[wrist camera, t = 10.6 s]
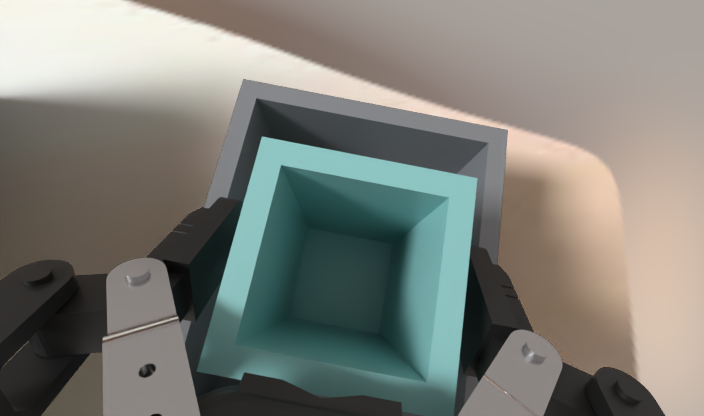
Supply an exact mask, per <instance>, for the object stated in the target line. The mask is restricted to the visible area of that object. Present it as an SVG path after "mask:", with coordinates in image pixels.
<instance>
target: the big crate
mask: <svg viewBox="0 0 704 416" xmlns="http://www.w3.org/2000/svg"><path fill="white" fill-rule="evenodd" d="M507 134H508V130H505V129H500V128H495V127H489V126H484V125H479V124H474V123H469V122H464V121H458V120H453V119H448V118H443V117H438V116H432V115H427V114H422V113H417V112H412V111H406V110H401V109H396V108H391V107H386V106H381V105H375V104H370V103H365V102H360V101H355V100H349V99H344V98H339V97H334V96H329V95H323V94H318V93H313V92H308V91H303V90H298V89H292V88H287V87H282V86H277V85H272V84H266V83H261V82H256V81H251V80H246V79H243V82H242V85H241V88H240V91H239V95H238V98H237V101H236V105H235V108H234V111H233V114H232V118H231V121H230V124H229V127H228V131H227V134H226V137H225V140H224V144H223V147H222V150H221V153H220V157H219V160H218V163H217V166H216V170H215V173H214V176H213V179H212V183H211V186H210V189H209V192H208V196H207V199H206V202H205V205H204V208H208V209H209V208H210V207H211V206H212V205H213V204H214V202H215V201H216V200H217V199H218V198H219V197H225V198H230V199H235V200H240V201H242V202H243V203H244V199H245V196H246V192H247V189H248V185H249V181H250V178H251V174H252V171H253V167H254V163H255V160H256V156H257V153H258V149H259V145H260V142H261V138H262V137H267V138H272V139H277V140H283V141H288V142H293V143H298V144H303V145H308V146H314V147H319V148H324V149H329V150H334V151H340V152H345V153H350V154H355V155H360V156H365V157H371V158H376V159H381V160H386V161H391V162H396V163H402V164H407V165H412V166H417V167H422V168H427V169H433V170H438V171H443V172H448V173H453V174H458V175H464V176H469V177H474V178H477V188H476V198H475V208H474V218H473V228H472V238H471V246H476V247H481V248H485V249H486V250H487V251H488V254H489V256H490V259H491V261H492V264H496V265H497V261H498V248H499V236H500V223H501V210H502V198H503V185H504V172H505V160H506V147H507ZM221 282H222V280H221ZM221 282H220V284H219V285H218V287H217V288H216V290H215V292H214V293H213V295H212V296H211V298H210V300H209V301H208V303H207V304H206V306H205V308H204V309H203V311H202V312H201V314H200V316H199V317H198V319H197V320H196V322H192V321H187V320H182V321H181V323H180V326H181V331H182V335H183V340H184V344H185V349H186V353H187V358H188V362H189V367H190V371H191V376H192V380H193V385H194V389H195V394H196V398H198V397H200V396H201V395H204V394H206V393H208V392H211V391H213V390H216V389H219V388H223V387H228V386H233V385H239V384H240V382H241V380H238V379H233V378H228V377H223V376H218V375H212V374H207V373H202V372H197V368H198V365H199V361H200V357H201V354H202V350H203V347H204V343H205V339H206V336H207V332H208V329H209V325H210V321H211V318H212V314H213V311H214V307H215V304H216V300H217V296H218V293H219V289H220V286H221ZM477 385H478V379H477V377H472V376H467V375H464V374H463V369H462V364H461V359H460V358H459V368H458V378H457V388H456V398H455V408H454V416H458V414H459V413H460V411H461V410H462V408H463V406H464V405H465V403H466V402H467V400H468V399H469V397H470V396H471V394H472V392H473V391H474V389H475V388H476V386H477ZM313 395H315V394H313ZM315 396H318V397H321V398H331V397H326V396H320V395H315ZM402 416H423V415H418V414H413V413H408V412H403V411H402Z"/></svg>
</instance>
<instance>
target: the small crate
mask: <svg viewBox="0 0 704 416" xmlns="http://www.w3.org/2000/svg"><path fill="white" fill-rule="evenodd" d="M476 188H477V178H474V177H469V176H464V175H458V174H453V173H448V172H443V171H438V170H433V169H427V168H422V167H417V166H412V165H407V164H402V163H396V162H391V161H386V160H381V159H376V158H371V157H365V156H360V155H355V154H350V153H345V152H340V151H334V150H329V149H324V148H319V147H314V146H308V145H303V144H298V143H293V142H288V141H283V140H277V139H272V138H267V137H262V138H261V142H260V145H259V149H258V153H257V156H256V160H255V163H254V167H253V171H252V174H251V178H250V181H249V185H248V189H247V192H246V196H245V199H244V203H243V207H242V210H241V214H240V217H239V221H238V225H237V228H236V232H235V235H234V239H233V242H232V246H231V250H230V253H229V257H228V260H227V264H226V268H225V271H224V275H223V278H222V282H221V286H220V289H219V293H218V296H217V300H216V304H215V307H214V311H213V314H212V318H211V321H210V325H209V329H208V332H207V336H206V339H205V343H204V347H203V350H202V354H201V357H200V361H199V365H198V368H197V372H202V373H207V374H212V375H218V376H223V377H228V378H233V379H238V380H241V379H242V377H243V374H244V372H246V373H251V374H256V375H261V376H266V377H272V378H277V379H282V380H285V381H287V382H289V383H291V384H293V385H295V386H297V387H299V388H301V389H303V390H305V391H307V392H309V393H311V394H315V395H320V396H326V397H344V396H358V395H365V396H370V397H375V398H381V399H386V400H391V401H396V402H401V403H402V411H403V412H408V413H413V414H418V415H423V416H454V408H455V398H456V388H457V378H458V368H459V358H460V348H461V338H462V328H463V318H464V308H465V298H466V288H467V278H468V268H469V258H470V248H471V238H472V228H473V218H474V208H475V198H476Z"/></svg>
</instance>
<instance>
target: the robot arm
mask: <svg viewBox="0 0 704 416" xmlns="http://www.w3.org/2000/svg"><path fill="white" fill-rule="evenodd" d="M242 207H243V202H242V201H240V200H235V199H230V198H225V197H219V198H218V199H217V200H216V201H215V202H214V204H213V205H212V206H211V207H210V208H209V209H208V208H203V207H202V208H200V209H198V210H196V211H194V212H192V213H190V214H189V215H188V216H187V217H186V218H185V219H184V220H183V221H182V222H181V224H180V225H178V226H177V227H176V228H175V229H174V230H173V232H171V233H170V234H169V235H168V236H167V237H166V238H165V239H164V240H163V241H162V242H161V243H160V244H159V245H158V246H157V247H156V248H155V249H154V250H153V251H152V252H151V253H150V254H149V255H148V256H147V257H146V258H137V259H132V260H129V261H126V262H124V263H122V264H120V265H118V266H116V267H115V268H114V269H113V270H112V271H111V272H110V273H109V274H96V275H75V273H74V270H73V267H72V266H71V264H69V263H68V262H65V261H61V260H45V261H39V262H35V263H31V264H28V265H26V266H23V267H21V268H19V269H17V270H15V271H14V272H12V273H11V274H9V275H8V276H7V277H5V278H4V279H3V280H1V281H0V416H41V415H42V414H43V412H44V411H45V410H46V408H47V407H48V406H49V405H50V403H51V402H52V401H53V400H54V398H55V397H56V396H57V395H58V393H59V392H60V391H61V390H62V388H63V387H64V386H65V385H66V383H67V382H68V381H69V380H70V378H71V377H72V376H73V375H74V373H75V372H76V371H77V370H78V368H79V367H80V366H81V365H82V363H83V362H84V361H85V359H86V358H87V357H88V356H89V354H90V353H96V352H102V364H103V416H402V403H401V402H396V401H391V400H386V399H381V398H375V397H370V396H365V395H358V396H344V397H331V398H321V397H318V396H315V395H313V394H311V393H309V392H307V391H305V390H303V389H301V388H299V387H297V386H295V385H293V384H291V383H289V382H287V381H285V380H282V379H277V378H272V377H266V376H261V375H256V374H251V373H246V372H244V374H243V377H242V379H241V382H240V384H239V385H233V386H228V387H223V388H219V389H216V390H213V391H211V392H208V393H206V394H204V395H201V396H200V397H198V398H196V394H195V389H194V385H193V380H192V376H191V371H190V367H189V362H188V358H187V353H186V349H185V344H184V340H183V335H182V331H181V326H180V323H181V321H182V320H187V321H192V322H196V320H197V319H198V317H199V316H200V314H201V312H202V311H203V309H204V308H205V306H206V304H207V303H208V301H209V300H210V298H211V296H212V295H213V293H214V292H215V290H216V288H217V287H218V285H219V284H220V282H221V280H222V278H223V275H224V271H225V268H226V264H227V260H228V257H229V253H230V250H231V246H232V242H233V239H234V235H235V232H236V228H237V225H238V221H239V217H240V214H241V210H242ZM27 341H29V342H28V343H27V344H26V345H25V346H24V347H23V348H22V349H21V350H20V351H19V352H18V353H17V354H16V355H15V356H14V357H13V358H12V359H11V360H10V361H9V362H8V363H7V364H6V365H5V366H4V367H3V365H4V364H5V363H6V362H7V361H8V360H9V359H10V358H11V357H12V356H13V355H14V354H15V353H16V352H17V351H18V350H19V349H20V348H21V347H22V346H23V345H24V344H25V343H26V342H27ZM460 359H461V364H462V369H463V374H464V375H467V376H472V377H477V379H478V385H477V386H476V388H475V389H474V391H473V392H472V394H471V396H470V397H469V399H468V400H467V402H466V403H465V405H464V406H463V408H462V410H461V411H460V413H459V414H458V416H665V414H664V413H663V411H662V410H661V408H660V407H659V405H658V403H657V402H656V400H655V399H654V397H653V396H652V395H651V393H650V392H649V391H648V390H647V389H646V388H645V387H644V386H643V385H642V384H641V383H640V382H638V381H637V380H636V379H634V378H633V377H631V376H630V375H628V374H626V373H625V372H623V371H620V370H618V369H615V368H610V367H603V368H600V369H599V370H598V371H597V372H596V373H595V374H594V375H593V376H592V375H590V374H588V373H585V372H583V371H581V370H579V369H576V368H574V367H572V366H570V365H568V364H566V363H564V362H562V359H561V357H560V355H559V353H558V352H557V350H556V349H555V348H554V347H553V346H552V345H551V344H550V343H549V342H548V341H547V340H546V339H544V338H543V337H541V336H540V335H538V334H536V333H534V332H533V329H532V327H531V325H530V323H529V320H528V318H527V316H526V314H525V312H524V309H523V307H522V305H521V303H520V300H518V296H517V294H516V291H515V290H514V287H513V285H512V283H511V280H510V278H509V276H508V275H507V274H506V273H505V272H504V271H503V270H502V268H501V267H500V266H499V265H496V264H492V261H491V259H490V256H489V254H488V251H487V250H486V249H485V248H481V247H476V246H471V248H470V258H469V268H468V278H467V288H466V298H465V308H464V318H463V328H462V338H461V348H460ZM2 367H3V368H2Z"/></svg>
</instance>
